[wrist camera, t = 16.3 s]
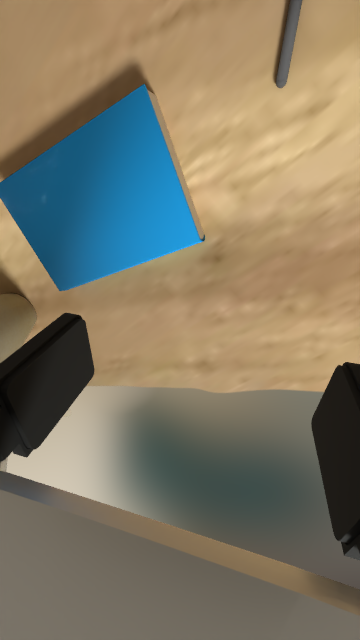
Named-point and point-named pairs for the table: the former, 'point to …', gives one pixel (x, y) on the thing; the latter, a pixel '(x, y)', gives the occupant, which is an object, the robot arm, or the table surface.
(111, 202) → the book
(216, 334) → the table surface
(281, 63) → the power strip
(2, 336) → the plant pot
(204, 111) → the table surface
